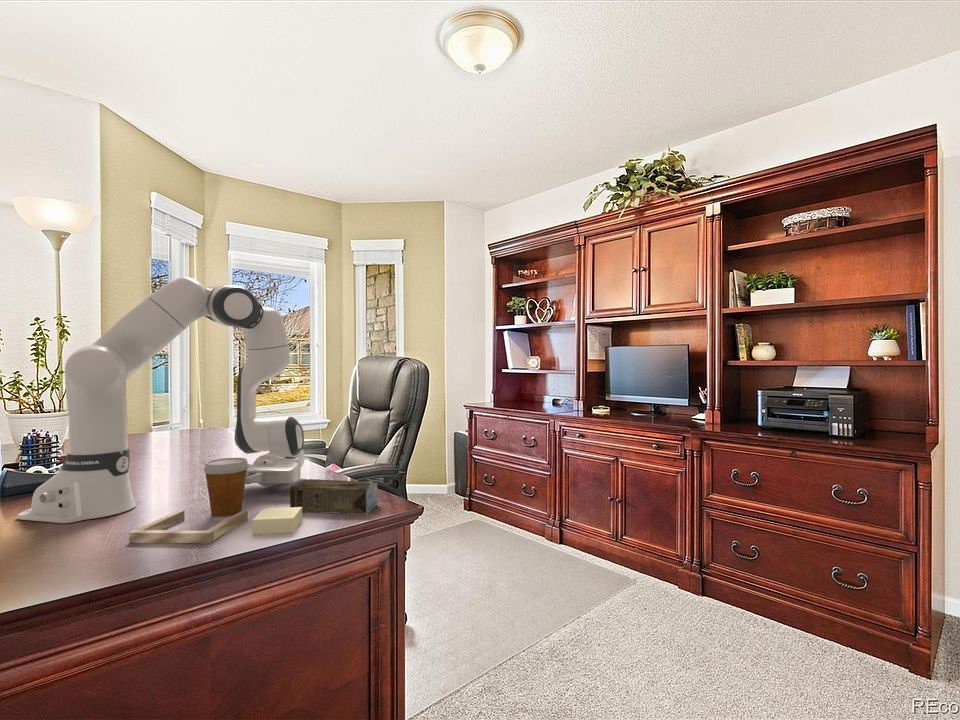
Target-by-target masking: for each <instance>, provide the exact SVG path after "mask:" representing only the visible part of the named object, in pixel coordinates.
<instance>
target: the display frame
mask: <svg viewBox="0 0 960 720" xmlns="http://www.w3.org/2000/svg"><path fill="white" fill-rule="evenodd" d="M184 519H185V510H176V511H173V512H172V513H168V514H167V515H165V516H163V517H160V518H158V519H156V520H153V521H152V522H150V523H147V524H145V525H143V526H141V527H139V528H136V529H134V530H131V531H130V532H128V543H129V544H175V543H210V542H211V543H213V542H215V541H216V540H218V539H219V537H220V536H221V537H223V536H224V535H223V534H225V533H226V534H228V533H229V532H231V531H233V530H234V529H236V528H238V527H239V526H241V525H243V524H244V523H246V522H247V521H249V511H247V510H242V511H241V512H239V513H237V514H234V515H231V516H229V517H228V518H227V519H224V520H223V521H221V522H220V523H218V524H215V525H214V526H212V527H210V528H209V529H207V530H176V529H175V530H171V529H169V530H168V528H170V527H172V526H174V525H176V523H177V524H179V523H181V522H182V521H185V520H184ZM180 521H181V522H180ZM178 522H179V523H178ZM169 526H170V527H169ZM167 527H168V528H167ZM165 528H166V529H167V530H166V529H165ZM163 529H164V530H163ZM232 529H233V530H232ZM227 532H228V533H227ZM226 534H225V535H226ZM222 535H223V536H222ZM221 537H220V538H221ZM217 538H218V539H217ZM215 539H216V540H215ZM214 540H215V541H214ZM212 541H213V542H212ZM211 543H210V544H211Z"/></svg>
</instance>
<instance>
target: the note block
mask: <svg viewBox="0 0 960 720" xmlns="http://www.w3.org/2000/svg"><path fill="white" fill-rule="evenodd" d="M302 522H303V512H302V507H290V506H289V507H271V508H269V507H267V508H263V509H262V510H261V511H260V512H259V513H258V514H257V515H256V516H255V517H254V518H253V519H252V522H251V523H252V525H251V526H252V528H251V529H252V530H251V531H252V532H251V533H252V535H253V536H254V535H273V534H274V535H275V534H292V533H293V534H294V533H295V531H296V530H297V528H298V527H299V525H300V524H301V523H302Z"/></svg>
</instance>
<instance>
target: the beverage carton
mask: <svg viewBox="0 0 960 720" xmlns="http://www.w3.org/2000/svg"><path fill="white" fill-rule="evenodd" d="M377 505H378V482H376V481H372V480H369V481H368V480H366V481H361V480H360V481H357V480H356V481H355V480H338V479H335V480H334V479H319V478H318V479H314V478H313V479H311V478H310V479H308V478H305V479H303V480H302V481H298V482H296V484H294V485H292V486H290V488H289V507H302V513H320V512H339V513H338V514H348V513H367V514H369V513H370V512H371V511H372V510H373V509H374V508H375V507H376V506H377ZM372 508H373V509H372ZM371 509H372V510H371ZM370 510H371V511H370ZM369 511H370V512H369Z"/></svg>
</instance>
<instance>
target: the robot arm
mask: <svg viewBox="0 0 960 720" xmlns="http://www.w3.org/2000/svg"><path fill="white" fill-rule="evenodd" d="M203 317H205V318H207V319H209V320H211V321H212V322H215V323H217V324H220V325H221V326H226V327H234V328H239V329H240V330H241V331H242V334H243V335H244V338H245V347H246V361H245V363H244V365H243V366H242V367H241V368H239V372H238V374H237V382H236V383H237V385H236V386H237V387H236V423H235V429H234V443H235V445H236V446H237V448H238V449H239V450H240V451H242V452H243V453H244V454H246V455H248V454H257V453H261V452H267V453H265V454H262V455H260V456H258V457H257V458H256V459H255V460H254V461H253V463H252V464H249V466H248V469H247V472H246V479H245V485H252V484H258V485H261V486H262V487H266V488H267V487H272V486H275V485H281V484H285V485H286V484H287V485H288V484H289V485H290V484H294V483H299V482H301V481H300V480H301V473H302V471H301V469H302V467H303V466H304V465H305V464H304V463H305V462H306V461H305V460H306V458H305V457H306V456H305V452H304V450H303V448H304V443H305V440H304V439H305V435H304V434H305V433H304V430H303V426H302V425H301V423H300V422H299V421H298V420H297V419H296V418H294V417H293V416H278V417H266V418H259V417H257V414H256V413H257V411H256V409H257V390H258V387H260V385H261V384H262V383H265V382H266V381H269V380H271V379H273V378H275V377H276V376H278V375H280V374H281V373H283V372H284V371H285V370H286V368H287V367H288V365H289V363H290V360H291V359H290V358H291V357H290V346H289V341H288V335H287V331H286V326H285V323H284V321H283V318H282V315H281V313H280V312H279V311H278V310H277V309H275V308H272V307H268V306H267V307H266V306H263V305H261V303H260V301H258V299H257V298H256V296H255V295H254V294H253V293H252V292H251V291H250V290H249V289H248V288H245V287H244V286H241V285H236V284H235V285H234V284H222V285H216V286H210V287H205V286H203V284H201V282H200V281H197V280H196V279H194V278H191V277H188V276H182V277H181V276H180V277H178V278H176V279H174V280H172V281H170V282H168V283H167V284H165V285H163V286H161V287H160V288H159V289H157V290H156V291H153V293H151V294H150V295H149V296H148V297H147V298H145V299H144V300H142V302H140V303H139V304H137V305H136V306H135V307H134V308H133V309H131V310H129V312H127V313H126V314H125V315H123V316H122V317H121V318H120V319H119V320H117V322H116V323H115V324H114V325H113V326H111V328H109V329H108V330H106V332H105V333H104V334H103V335H102V336H100V337H99V338H98V339H97V340H96V341H94V342H93V343H92V344H91V345H88V346H84V347H82V348H79V349H77V350H76V351H74V352H73V353H71V355H70V356H69V357H68V358H67V359H66V363H65V366H64V381H65V395H66V396H65V397H66V405H67V406H66V407H67V408H66V409H67V414H68V415H67V416H68V453H67V454H66V455H65V456H61V457H60V456H59V457H57V458H56V459H57V460H59V461H56V463H58V464H59V463H62V464H61V468H60V469H61V470H60V471H58V472H57V473H56V474H54V475H53V476H52V477H50V478H48V480H46V481H44V482H43V483H42V484H41V485H40V486H38V487H37V488H36V489H35V490H34V492H33V495H32V497H31V499H32V500H31V508H28V509H26V510H24V511H21V512H19V513H18V514H17V517H16V519H17V520H21V521H22V520H24V521H33V522H43V523H45V522H47V523H54V524H55V523H58V524H71V523H75V522H80V521H84V520H90V519H91V520H93V519H98V518H105V517H108V516H114V515H117V514H121V513H124V512H128V511H130V510H132V509H134V508H135V507H136V506H137V505H136V502H135V499H134V496H133V491H132V488H131V481H130V475H129V469H130V464H131V460H130V459H131V455H130V452H131V451H130V450H131V449H130V448H129V447H128V405H127V380H128V379H129V378H130V377H132V376H133V375H134V374H135V373H136V372H138V371H139V370H140V369H141V368H142V367H143V366H144V365H145V364H146V363H148V362H149V361H150V360H152V358H153V357H155V356H156V355H157V354H158V353H159V352H160V351H162V350H163V349H164V348H165V347H166V346H167V345H169V343H171V342H172V341H173V340H174V339H175V338H176V337H178V336H179V335H180V334H181V333H182V332H184V331H185V330H186V329H187V328H188V327H189V326H190V325H191V324H192V323H194V322H195V321H197V320H198V319H201V318H203ZM60 459H61V460H60Z"/></svg>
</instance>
